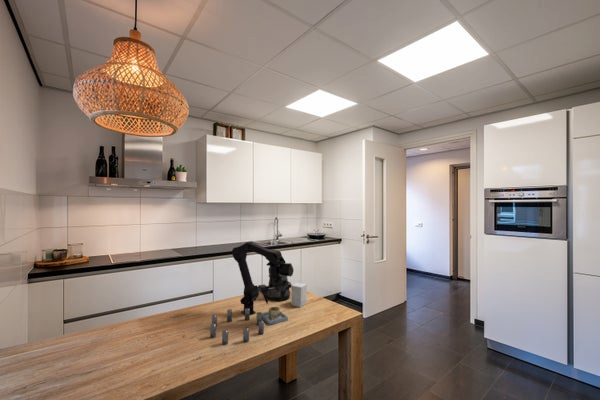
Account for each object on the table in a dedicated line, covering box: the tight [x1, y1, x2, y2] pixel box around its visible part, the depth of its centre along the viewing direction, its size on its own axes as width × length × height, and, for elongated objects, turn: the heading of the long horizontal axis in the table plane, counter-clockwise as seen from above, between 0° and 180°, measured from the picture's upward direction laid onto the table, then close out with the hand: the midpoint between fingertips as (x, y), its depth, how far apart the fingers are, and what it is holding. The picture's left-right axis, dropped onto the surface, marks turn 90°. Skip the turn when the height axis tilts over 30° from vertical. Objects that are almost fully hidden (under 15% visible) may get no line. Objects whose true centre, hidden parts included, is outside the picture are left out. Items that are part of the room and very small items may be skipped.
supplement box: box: [290, 282, 308, 308], centre depth 169 cm, size 7×7×13 cm
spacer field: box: [209, 308, 265, 346], centre depth 135 cm, size 27×27×6 cm
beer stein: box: [267, 261, 291, 303], centre depth 182 cm, size 16×19×25 cm
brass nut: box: [268, 306, 281, 320], centre depth 148 cm, size 6×5×5 cm
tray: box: [261, 310, 289, 326], centre depth 148 cm, size 11×11×2 cm
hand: (274, 301), depth 148 cm, fingers open, 9 cm apart
